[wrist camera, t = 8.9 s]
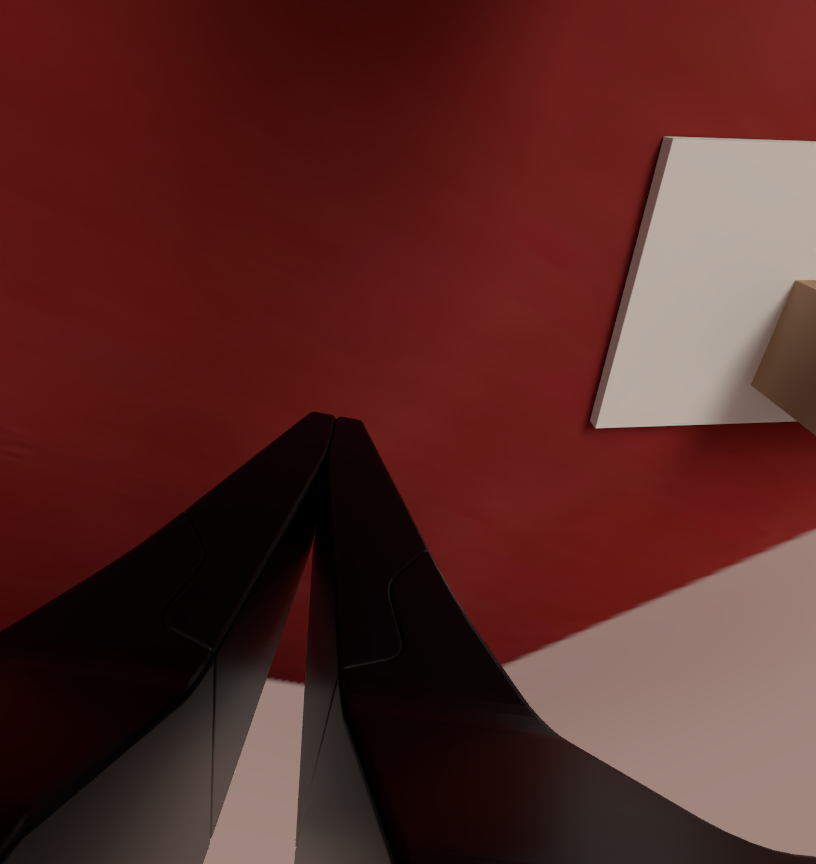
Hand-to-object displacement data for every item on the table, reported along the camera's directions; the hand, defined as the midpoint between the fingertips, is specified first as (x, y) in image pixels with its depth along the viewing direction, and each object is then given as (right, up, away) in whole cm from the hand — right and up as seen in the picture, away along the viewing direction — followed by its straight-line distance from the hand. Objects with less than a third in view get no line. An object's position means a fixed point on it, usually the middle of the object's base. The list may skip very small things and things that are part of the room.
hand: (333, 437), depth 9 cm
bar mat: (+19, +5, +13) cm, 24 cm away
